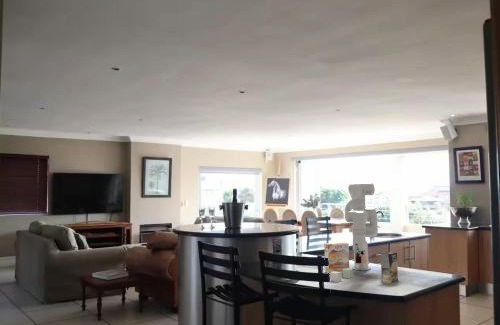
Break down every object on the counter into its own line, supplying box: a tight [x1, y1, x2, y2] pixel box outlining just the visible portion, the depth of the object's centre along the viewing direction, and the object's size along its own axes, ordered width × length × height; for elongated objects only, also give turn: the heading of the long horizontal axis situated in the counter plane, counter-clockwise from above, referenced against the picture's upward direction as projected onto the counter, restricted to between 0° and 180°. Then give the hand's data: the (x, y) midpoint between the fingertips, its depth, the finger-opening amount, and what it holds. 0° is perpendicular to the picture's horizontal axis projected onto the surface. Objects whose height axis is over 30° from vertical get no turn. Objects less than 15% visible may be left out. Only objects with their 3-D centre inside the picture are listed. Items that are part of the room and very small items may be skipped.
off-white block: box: [329, 271, 343, 283], centre depth 257 cm, size 5×5×5 cm
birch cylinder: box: [381, 274, 393, 285], centre depth 247 cm, size 5×5×5 cm
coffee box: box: [380, 251, 399, 282], centre depth 257 cm, size 9×6×16 cm
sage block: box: [341, 267, 354, 279], centre depth 268 cm, size 5×5×5 cm
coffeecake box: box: [323, 242, 350, 274], centre depth 284 cm, size 15×7×20 cm, turn 101°
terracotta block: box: [355, 254, 366, 264], centre depth 256 cm, size 5×5×5 cm
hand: (360, 262), depth 255 cm, fingers closed on terracotta block, 5 cm apart
